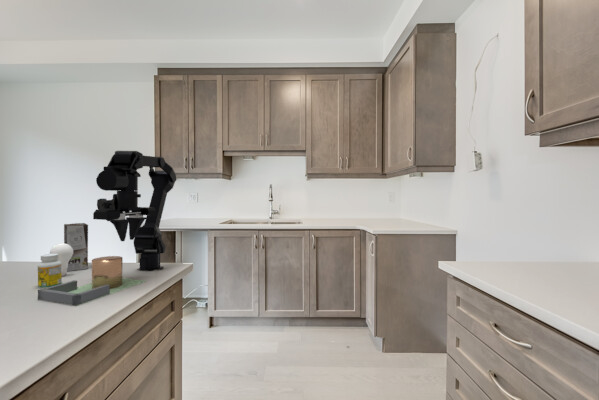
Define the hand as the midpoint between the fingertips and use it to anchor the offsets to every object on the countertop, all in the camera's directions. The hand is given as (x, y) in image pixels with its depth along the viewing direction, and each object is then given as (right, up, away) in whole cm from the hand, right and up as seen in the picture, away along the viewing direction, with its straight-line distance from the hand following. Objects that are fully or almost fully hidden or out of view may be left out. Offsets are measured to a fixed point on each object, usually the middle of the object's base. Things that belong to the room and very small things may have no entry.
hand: (127, 240), depth 95 cm
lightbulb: (-24, -13, +4) cm, 28 cm away
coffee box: (-28, -12, +16) cm, 34 cm away
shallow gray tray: (-5, -13, -15) cm, 20 cm away
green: (-3, -13, -9) cm, 17 cm away
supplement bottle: (-19, -13, -7) cm, 24 cm away
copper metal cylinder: (-2, -13, -6) cm, 14 cm away
